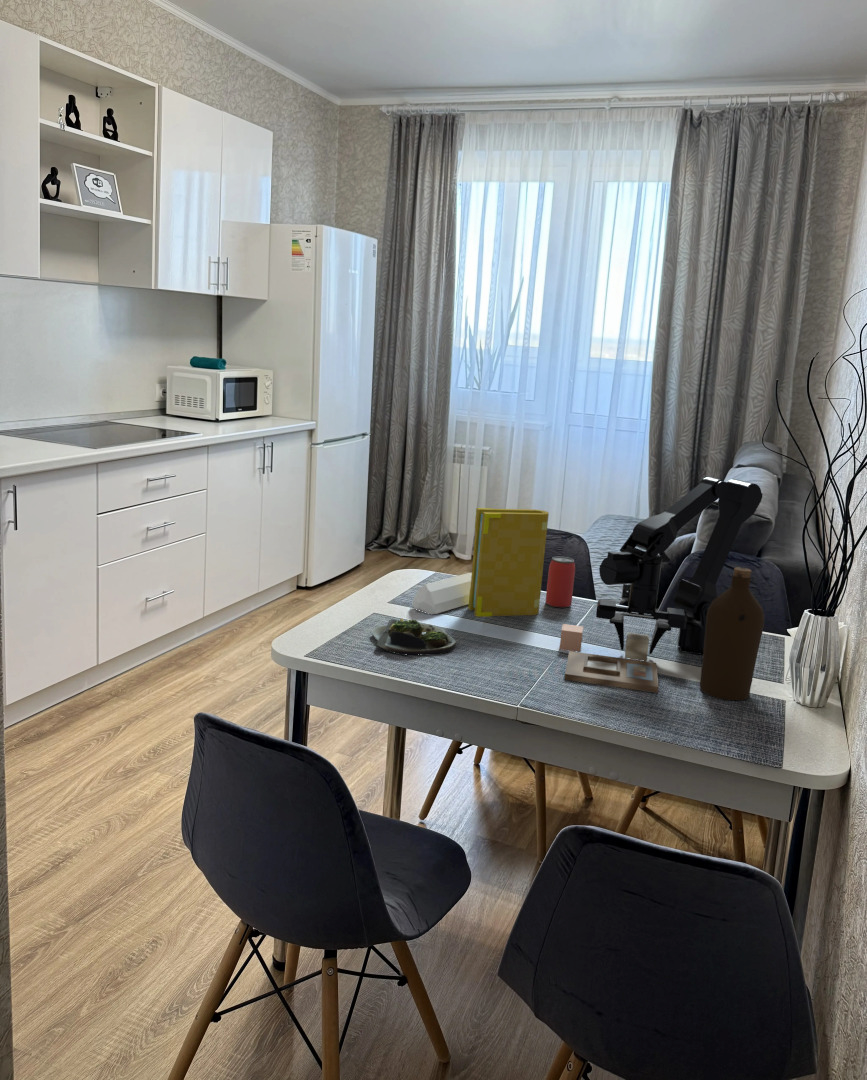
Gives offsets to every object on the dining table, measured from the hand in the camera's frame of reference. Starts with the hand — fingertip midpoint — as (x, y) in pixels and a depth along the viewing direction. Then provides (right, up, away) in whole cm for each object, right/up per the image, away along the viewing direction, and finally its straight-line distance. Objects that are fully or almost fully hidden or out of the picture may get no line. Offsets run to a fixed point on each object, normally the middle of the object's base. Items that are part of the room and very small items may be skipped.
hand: (636, 651), depth 192 cm
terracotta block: (-14, 0, +3) cm, 14 cm away
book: (-26, +6, +25) cm, 37 cm away
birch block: (0, -1, 0) cm, 1 cm away
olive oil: (+14, -6, -16) cm, 22 cm away
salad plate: (-48, +2, -1) cm, 48 cm away
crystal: (-40, +8, +28) cm, 49 cm away
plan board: (-8, -3, -11) cm, 14 cm away
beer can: (-12, +7, +34) cm, 37 cm away
